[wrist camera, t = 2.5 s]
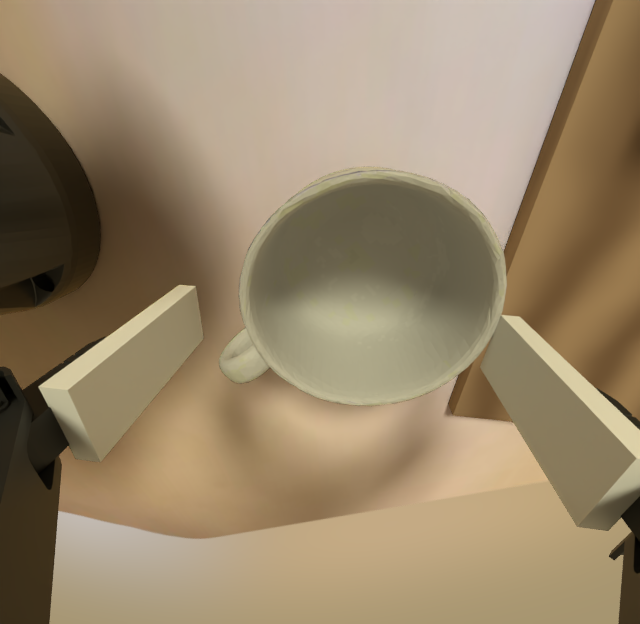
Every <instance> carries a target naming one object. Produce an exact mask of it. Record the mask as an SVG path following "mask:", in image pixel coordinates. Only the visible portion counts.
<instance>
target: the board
mask: <svg viewBox="0 0 640 624" xmlns="http://www.w3.org/2000/svg"><path fill="white" fill-rule="evenodd" d="M504 257H505V264H506V278H507V287H506V294H505V301H504V307H503V311H502V314H501V315H508V316H519V317H521V318H522V319H523V320H524V321H525V322H526V323H527V324H528V325H529V326H530V327H531V328H532V329H533V330H534V331H535V332H536V333H537V334H538V335H540V336H541V337H542V338H543V339H544V340H545V341H546V342H547V343H548V344H549V345H550V346H551V347H552V348H553V349H554V350H555V351H556V352H558V353H559V354H560V355H561V356H562V357H563V358H564V359H565V360H566V361H567V362H568V363H569V364H570V365H571V366H572V367H573V368H574V369H576V370H577V371H578V372H579V373H580V374H581V375H582V376H583V377H584V378H585V379H586V380H587V381H588V382H589V383H590V384H591V385H592V386H594V387H595V388H598V389H600V390H601V391H603V392H604V393H606V394H608V395H609V396H611V397H612V398H614V399H615V400H617V401H618V402H619V403H620V404H621V405H623V406H624V407H625V408H626V409H627V410H628V411H629V412H630V413H631V414H632V417H636V418H637V419H638V420H639V421H640V0H596V2H595V4H594V7H593V10H592V13H591V15H590V18H589V21H588V24H587V26H586V29H585V32H584V34H583V37H582V40H581V43H580V45H579V48H578V51H577V54H576V56H575V59H574V62H573V65H572V67H571V70H570V73H569V75H568V78H567V81H566V84H565V86H564V89H563V92H562V95H561V97H560V100H559V103H558V106H557V108H556V111H555V114H554V116H553V119H552V122H551V125H550V127H549V130H548V133H547V136H546V138H545V141H544V144H543V146H542V149H541V152H540V155H539V157H538V160H537V163H536V166H535V168H534V171H533V174H532V177H531V179H530V182H529V185H528V187H527V190H526V193H525V196H524V198H523V201H522V204H521V207H520V209H519V212H518V215H517V218H516V220H515V223H514V226H513V228H512V231H511V234H510V237H509V239H508V242H507V245H506V248H505V250H504ZM491 338H492V337H491ZM490 340H491V339H490ZM490 340H489V342H488V344H487V345H486V347H485V348H484V349H483V351H482V352H481V353H480V355H479V356H478V357H477V358H476V359H475V360H474V361H473V362H472V363H471V364H470V365H469V366H468V367H467V368H466V369H465V370H464V371H462V372H461V373H460V374H459V376H458V379H457V382H456V384H455V387H454V390H453V392H452V395H451V398H450V401H449V403H448V404H449V407H450V409H451V412H452V414H453V415H455V416H465V417H474V418H484V419H493V420H503V421H512V419H511V417H510V416H509V414H508V412H507V411H506V409H505V408H504V406H503V404H502V403H501V401H500V399H499V398H498V396H497V394H496V393H495V391H494V390H493V388H492V386H491V385H490V383H489V381H488V380H487V378H486V376H485V375H484V373H483V372H482V370H481V368H480V366H481V363H482V361H483V358H484V355H485V353H486V350H487V348H488V345H489V343H490ZM512 422H513V421H512Z"/></svg>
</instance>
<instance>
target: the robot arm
mask: <svg viewBox="0 0 640 624" xmlns="http://www.w3.org/2000/svg"><path fill="white" fill-rule="evenodd" d="M99 248H100V225H99V218H98V213H97V208H96V204H95V201H94V198H93V195H92V192H91V189H90V186H89V184H88V181H87V179H86V177H85V175H84V173H83V170H82V169H81V167H80V165H79V163H78V161H77V159H76V157H75V156H74V154H73V152H72V151H71V149H70V148H69V146H68V144H67V143H66V141H65V140H64V138H63V137H62V136H61V134H60V133H59V132H58V130H57V129H56V128H55V126H54V125H53V124H52V123H51V121H50V120H49V119H48V118H47V117H46V115H45V114H44V113H43V112H42V111H41V110H40V109H39V108H38V107H37V105H36V104H35V103H34V102H33V101H32V100H31V99H30V98H29V97H28V96H27V95H25V94H24V93H23V92H22V91H21V90H20V89H19V88H18V87H17V86H16V85H14V84H13V83H12V82H11V81H10V80H8V79H7V78H6V77H5V76H3V75H2V74H1V73H0V315H3V314H9V313H16V312H22V311H27V310H31V309H35V308H38V307H41V306H44V305H46V304H48V303H50V302H52V301H54V300H56V299H58V298H60V297H62V296H64V295H67V294H69V293H70V292H72V291H74V290H76V289H77V288H79V287H80V286H81V285H82V284H83V283H84V282H85V281H86V280H87V279H88V277H89V276H90V274H91V273H92V271H93V269H94V267H95V265H96V262H97V259H98V254H99ZM203 339H204V335H203V329H202V322H201V316H200V309H199V303H198V297H197V290H196V286H188V285H178V286H177V287H175V288H174V289H173V290H171V291H170V292H168V293H167V294H166V295H164V296H163V297H162V298H160V299H159V300H157V301H156V302H155V303H153V304H152V305H151V306H149V307H148V308H146V309H145V310H144V311H142V312H141V313H139V314H138V315H137V316H135V317H134V318H133V319H131V320H130V321H128V322H127V323H126V324H124V325H123V326H121V327H120V328H119V329H117V330H116V331H115V332H113V333H112V334H110V335H109V336H108V337H103V338H101V339H99V340H97V341H94V342H92V343H90V344H88V345H86V346H85V347H84V348H82V349H81V350H79V351H78V352H76V353H75V355H72V356H71V357H69V358H68V359H66V360H65V361H64V363H61V364H59V365H58V366H56V367H55V368H54V369H52V370H51V371H49V372H48V373H46V374H45V375H44V376H42V377H41V378H39V379H38V380H36V381H35V382H34V383H32V384H31V385H29V386H28V387H26V388H25V389H24V390H22V389H21V388H20V386H19V384H18V382H17V380H16V379H15V377H14V375H13V373H12V371H11V370H10V369H8V368H6V367H0V624H49V620H50V607H51V594H52V581H53V569H54V556H55V544H56V531H57V518H58V506H59V493H60V481H61V468H62V464H61V460H60V458H59V456H58V455H59V454H60V453H61V452H62V451H63V450H64V449H65V448H66V447H67V446H68V445H69V447H70V449H71V451H72V453H73V455H74V457H75V459H79V460H86V461H94V462H101V461H102V460H103V459H104V458H105V457H106V455H107V454H108V453H109V452H110V451H111V449H112V448H113V447H114V446H115V445H116V443H117V442H118V441H119V440H120V439H121V437H122V436H123V435H124V434H125V433H126V431H127V430H128V429H129V428H130V427H131V425H132V424H133V423H134V422H135V421H136V419H137V418H138V417H139V416H140V415H141V413H142V412H143V411H144V410H145V409H146V407H147V406H148V405H149V404H150V402H151V401H152V400H153V399H154V398H155V396H156V395H157V394H158V393H159V392H160V390H161V389H162V388H163V387H164V386H165V384H166V383H167V382H168V381H169V380H170V378H171V377H172V376H173V375H174V374H175V372H176V371H177V370H178V369H179V368H180V366H181V365H182V364H183V363H184V362H185V360H186V359H187V358H188V357H189V356H190V354H191V353H192V352H193V351H194V350H195V348H196V347H197V346H198V345H199V344H200V342H201V341H202V340H203ZM480 368H481V370H482V372H483V373H484V375H485V376H486V378H487V380H488V381H489V383H490V385H491V386H492V388H493V390H494V391H495V393H496V394H497V396H498V398H499V399H500V401H501V403H502V404H503V406H504V408H505V409H506V411H507V412H508V414H509V416H510V417H511V419H512V421H513V422H514V424H515V426H516V427H517V429H518V431H519V432H520V434H521V435H522V437H523V439H524V440H525V442H526V444H527V445H528V447H529V449H530V450H531V452H532V453H533V455H534V457H535V458H536V460H537V462H538V463H539V465H540V467H541V468H542V470H543V471H544V473H545V475H546V476H547V478H548V480H549V481H550V483H551V484H552V486H553V488H554V490H555V491H556V493H557V494H558V496H559V498H560V499H561V501H562V503H563V504H564V506H565V508H566V509H567V511H568V512H569V514H570V516H571V517H572V519H573V521H574V522H575V524H576V526H577V527H583V528H590V529H598V530H605V531H608V530H609V529H610V528H611V527H612V526H613V525H614V524H615V523H616V522H617V521H618V520H619V519H620V518H621V517H622V519H623V520H624V521H625V523H626V524H627V525H628V527H629V528H630V529H631V531H632V532H631V533H630V534H629V535H628V536H627V537H626V538H625V539H624V540H623V541H621V542H620V543H619V545H617V546H616V547H615V548H614V549H613V550H612V551H611V553H610V555H609V557H611V558H612V559H613V560H615V559H616V558H617V557H618V556H620V555H624V557H623V572H622V584H621V598H620V611H619V624H640V421H639V420H638V419H637V418H636V417H632V414H631V413H630V412H629V411H628V410H627V409H626V408H625V407H624V406H623V405H621V404H620V403H619V402H618V401H617V400H615V399H614V398H612V397H611V396H609V395H608V394H606V393H604V392H603V391H601V390H600V389H598V388H595V387H594V386H592V385H591V384H590V383H589V382H588V381H587V380H586V379H585V378H584V377H583V376H582V375H581V374H580V373H579V372H578V371H577V370H576V369H574V368H573V367H572V366H571V365H570V364H569V363H568V362H567V361H566V360H565V359H564V358H563V357H562V356H561V355H560V354H559V353H558V352H556V351H555V350H554V349H553V348H552V347H551V346H550V345H549V344H548V343H547V342H546V341H545V340H544V339H543V338H542V337H541V336H540V335H538V334H537V333H536V332H535V331H534V330H533V329H532V328H531V327H530V326H529V325H528V324H527V323H526V322H525V321H524V320H523V319H522V318H521V317H519V316H508V315H501V316H500V320H499V322H498V325H497V327H496V330H495V332H494V334H493V336H492V338H491V340H490V343H489V345H488V348H487V350H486V353H485V355H484V358H483V361H482V363H481V366H480Z"/></svg>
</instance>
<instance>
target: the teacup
mask: <svg viewBox="0 0 640 624" xmlns="http://www.w3.org/2000/svg"><path fill="white" fill-rule="evenodd" d="M506 287H507V278H506V264H505V257H504V252H503V250H502V248H501V245H500V243H499V240H498V238H497V236H496V234H495V232H494V230H493V229H492V227H491V225H490V223H489V222H488V220H487V219H486V217H485V216H484V215H483V213H482V212H481V211H480V210H479V209H478V208H477V207H476V206H475V205H474V204H473V203H472V202H471V201H470V200H469V199H468V198H466V197H464V196H463V195H461V194H460V193H459V192H457V191H456V190H454V189H452V188H450V187H448V186H446V185H445V184H442V183H440V182H438V181H435V180H433V179H431V178H428V177H425V176H421V175H417V174H414V173H409V172H403V171H397V170H393V169H388V168H381V167H356V168H349V169H345V170H340V171H337V172H334V173H331V174H328V175H326V176H324V177H321V178H319V179H318V180H316V181H314V182H312V183H311V184H309V185H308V186H306V187H304V188H303V189H302V190H301V191H299V192H298V193H297V194H296V195H294V196H293V197H292V198H291V199H290V200H288V201H287V202H286V203H285V204H284V205H283V206H281V207H280V208H279V209H278V210H277V211H276V212H275V213H274V214H273V215H272V216H271V217H270V218H269V219H268V220H267V222H266V223H265V224H264V226H263V227H262V228H261V230H260V231H259V233H258V234H257V235H256V237H255V239H254V240H253V242H252V243H251V245H250V247H249V249H248V252H247V254H246V258H245V261H244V265H243V270H242V273H241V276H240V283H239V300H240V311H241V315H242V319H243V322H244V325H245V328H244V329H243V330H242V331H241V332H239V333H238V334H237V335H236V336H235V337H234V338H233V339H232V340H231V341H230V342H229V343H228V344H227V346H226V347H225V349H224V350H223V352H222V353H221V356H220V358H219V366H220V369H221V371H222V372H223V374H224V375H225V376H227V377H228V378H229V379H230V380H231V381H233V382H236V383H240V384H242V383H247V382H250V381H252V380H254V379H256V378H258V377H259V376H261V375H262V374H263V373H265V372H266V371H267V370H268V369H269V368H271V369H272V370H273V371H274V372H275V373H276V374H277V375H279V376H280V377H281V378H283V379H284V380H285V381H287V382H288V383H290V384H292V385H294V386H296V387H297V388H298V389H300V390H301V391H303V392H305V393H307V394H309V395H311V396H314V397H316V398H319V399H322V400H326V401H330V402H334V403H339V404H346V405H356V406H377V405H385V404H393V403H399V402H403V401H407V400H410V399H413V398H416V397H419V396H422V395H424V394H427V393H429V392H431V391H433V390H435V389H437V388H439V387H441V386H442V385H444V384H446V383H447V382H449V381H450V380H452V379H453V378H455V377H456V376H457V375H459V374H460V373H461V372H462V371H464V370H465V369H466V368H467V367H468V366H469V365H470V364H471V363H472V362H473V361H474V360H475V359H476V358H477V357H478V356H479V355H480V353H481V352H482V351H483V349H484V348H485V347H486V345H487V344H488V342H489V340H490V339H491V337H492V336H493V334H494V332H495V330H496V327H497V325H498V322H499V320H500V316H501V314H502V311H503V307H504V301H505V294H506Z"/></svg>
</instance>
